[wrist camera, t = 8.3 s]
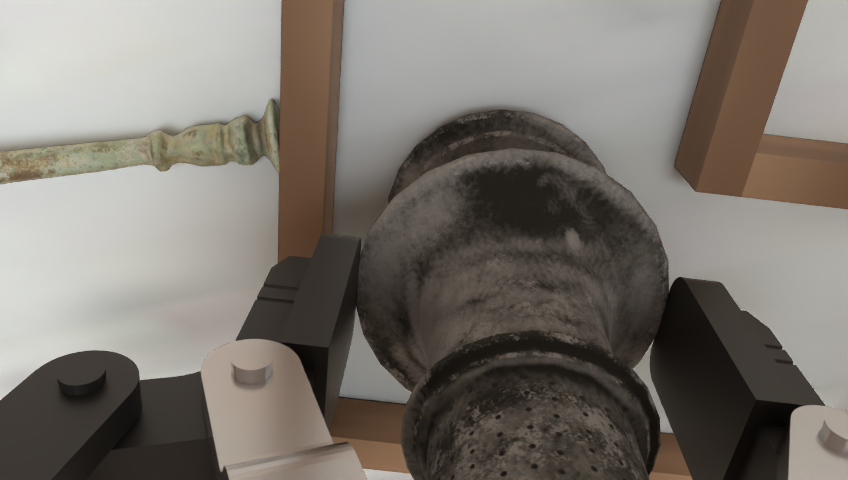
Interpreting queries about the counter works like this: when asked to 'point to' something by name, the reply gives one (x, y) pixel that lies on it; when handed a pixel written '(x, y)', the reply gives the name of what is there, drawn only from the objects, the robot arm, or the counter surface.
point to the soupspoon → (153, 150)
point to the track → (696, 161)
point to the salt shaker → (515, 306)
